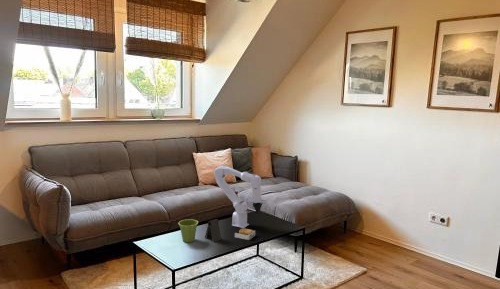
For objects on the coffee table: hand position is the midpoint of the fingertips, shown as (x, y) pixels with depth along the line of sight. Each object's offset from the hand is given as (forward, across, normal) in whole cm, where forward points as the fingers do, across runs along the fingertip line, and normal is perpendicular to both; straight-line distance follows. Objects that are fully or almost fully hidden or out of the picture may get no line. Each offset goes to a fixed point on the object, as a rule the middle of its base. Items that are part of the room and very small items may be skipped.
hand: (258, 213), depth 244 cm
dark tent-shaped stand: (+8, -16, -32) cm, 36 cm away
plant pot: (+7, -28, -41) cm, 50 cm away
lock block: (+9, -1, -18) cm, 20 cm away
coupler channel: (+9, -1, -18) cm, 20 cm away
